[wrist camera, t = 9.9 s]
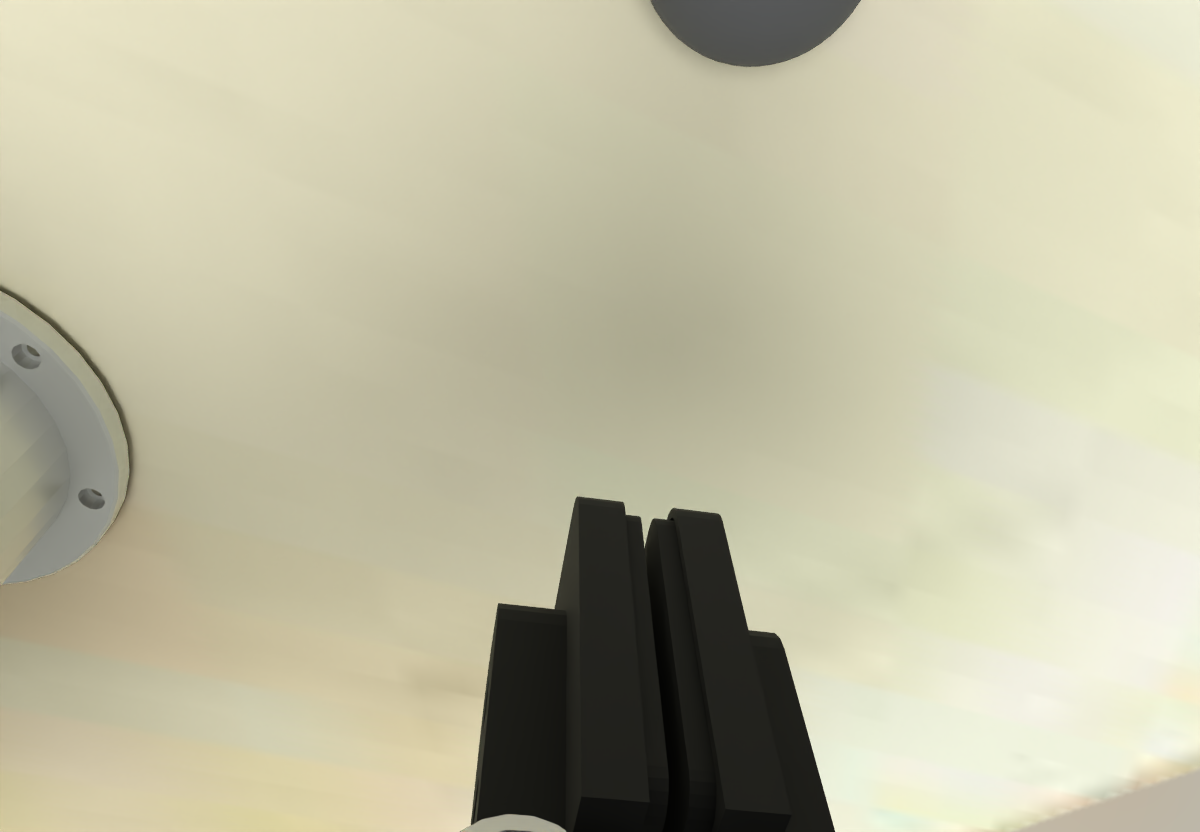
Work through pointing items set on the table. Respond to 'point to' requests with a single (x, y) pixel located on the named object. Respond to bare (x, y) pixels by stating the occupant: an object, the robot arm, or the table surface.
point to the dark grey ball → (753, 27)
